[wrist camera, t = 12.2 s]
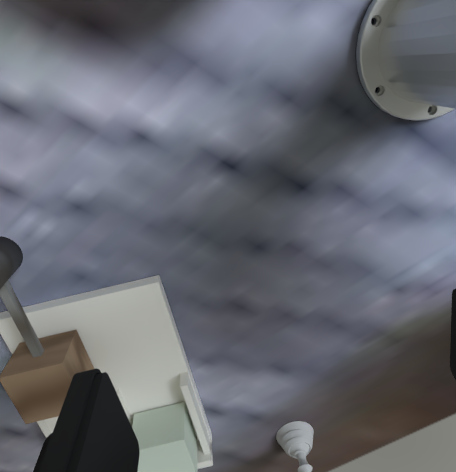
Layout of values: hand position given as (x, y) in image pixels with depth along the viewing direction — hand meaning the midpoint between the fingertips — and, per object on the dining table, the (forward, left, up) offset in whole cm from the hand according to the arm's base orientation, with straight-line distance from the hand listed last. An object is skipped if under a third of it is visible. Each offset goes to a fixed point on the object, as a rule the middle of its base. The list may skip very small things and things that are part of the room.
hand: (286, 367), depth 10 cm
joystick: (+11, -21, -27) cm, 36 cm away
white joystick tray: (+23, -17, -28) cm, 40 cm away
